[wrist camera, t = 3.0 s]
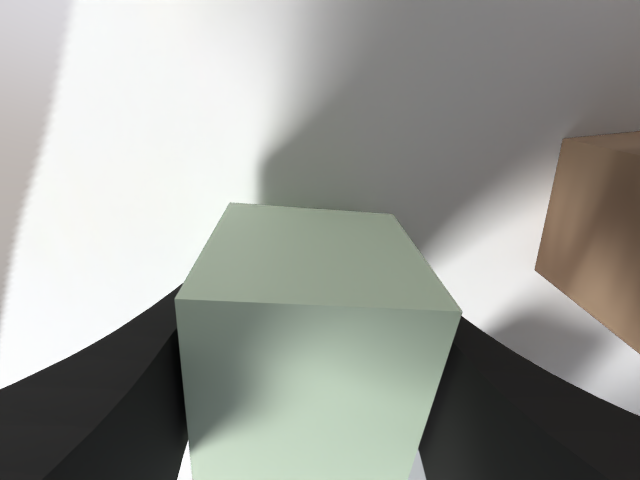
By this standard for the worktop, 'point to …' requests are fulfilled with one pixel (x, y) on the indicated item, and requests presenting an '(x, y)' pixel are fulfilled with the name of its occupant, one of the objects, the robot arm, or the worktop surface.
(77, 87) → the worktop surface
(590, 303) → the walnut cube
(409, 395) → the sage cube
